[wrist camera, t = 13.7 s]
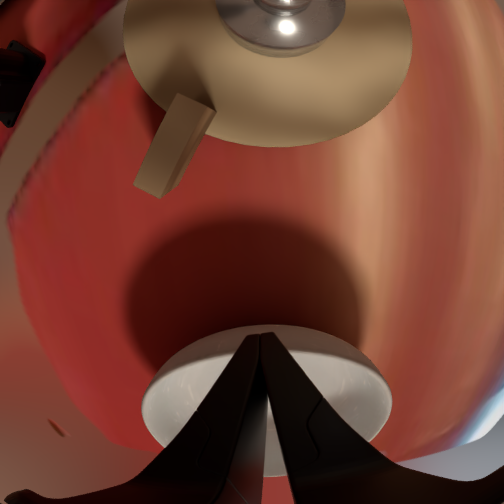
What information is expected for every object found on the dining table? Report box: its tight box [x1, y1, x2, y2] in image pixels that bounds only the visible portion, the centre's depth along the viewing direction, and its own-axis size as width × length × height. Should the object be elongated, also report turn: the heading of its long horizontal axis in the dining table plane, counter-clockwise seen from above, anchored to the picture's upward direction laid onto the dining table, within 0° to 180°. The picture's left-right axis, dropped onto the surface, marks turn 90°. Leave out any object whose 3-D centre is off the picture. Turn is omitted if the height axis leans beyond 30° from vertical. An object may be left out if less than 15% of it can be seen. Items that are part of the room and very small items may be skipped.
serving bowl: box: [141, 325, 392, 477], centre depth 23 cm, size 21×21×7 cm
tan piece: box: [123, 0, 412, 199], centre depth 11 cm, size 21×19×5 cm
